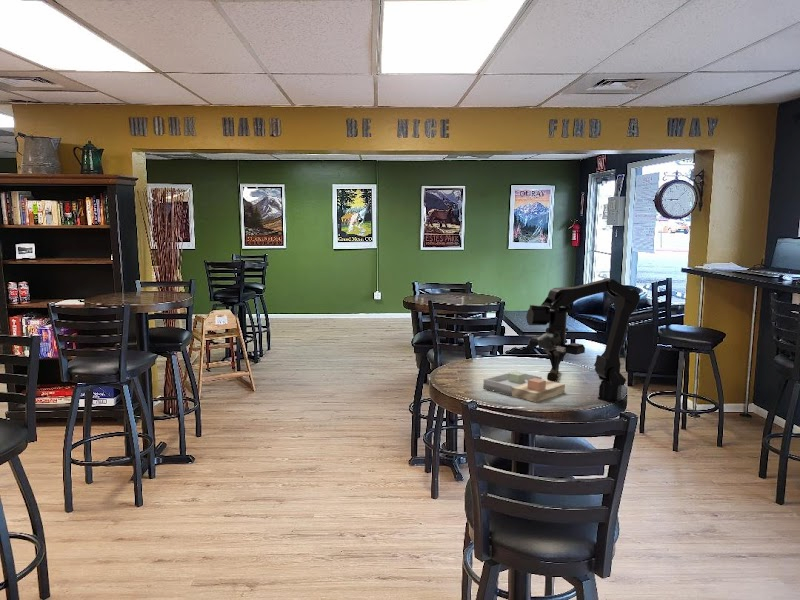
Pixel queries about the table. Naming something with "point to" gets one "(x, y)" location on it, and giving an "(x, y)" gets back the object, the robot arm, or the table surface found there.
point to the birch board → (536, 396)
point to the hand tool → (553, 375)
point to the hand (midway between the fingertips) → (554, 369)
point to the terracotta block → (536, 384)
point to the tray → (504, 383)
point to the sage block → (516, 377)
